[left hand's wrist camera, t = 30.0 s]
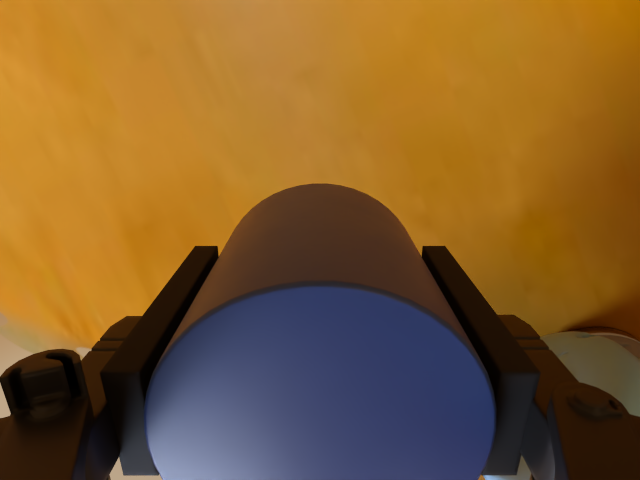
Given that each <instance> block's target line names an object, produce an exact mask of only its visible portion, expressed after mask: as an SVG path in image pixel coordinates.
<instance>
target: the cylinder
mask: <svg viewBox="0 0 640 480" xmlns="http://www.w3.org/2000/svg"><path fill="white" fill-rule="evenodd" d="M144 431H145V436H146V441H147V446H148V450H149V452H150V455H151V458H152V460H153V463H154V465H155V467H156V469H157V471H158V472H159V474H160V476H161V478H162V479H163V480H478V478H479V477H480V475H481V473H482V471H483V469H484V468H485V466H486V464H487V461H488V459H489V456H490V453H491V450H492V448H493V443H494V438H495V433H496V403H495V396H494V390H493V387H492V384H491V381H490V378H489V375H488V373H487V371H486V369H485V367H484V365H483V363H482V361H481V360H480V358H479V356H478V354H477V352H476V351H475V349H474V347H473V345H472V344H471V342H470V340H469V338H468V337H467V335H466V333H465V331H464V330H463V328H462V326H461V325H460V323H459V321H458V319H457V318H456V316H455V314H454V312H453V311H452V309H451V307H450V305H449V304H448V302H447V300H446V299H445V297H444V295H443V293H442V292H441V290H440V288H439V286H438V285H437V283H436V281H435V279H434V278H433V276H432V274H431V273H430V271H429V269H428V267H427V266H426V264H425V262H424V260H423V259H422V257H421V255H420V254H419V252H418V250H417V248H416V247H415V245H414V243H413V241H412V240H411V238H410V236H409V234H408V233H407V231H406V229H405V228H404V226H403V225H402V223H401V222H400V221H399V219H398V218H397V217H396V216H395V215H394V214H393V213H392V212H391V211H390V210H389V209H388V208H387V207H386V206H384V205H383V204H382V203H380V202H379V201H378V200H376V199H374V198H372V197H371V196H369V195H367V194H365V193H363V192H360V191H358V190H355V189H352V188H348V187H345V186H341V185H333V184H307V185H300V186H296V187H292V188H288V189H285V190H283V191H280V192H278V193H275V194H273V195H271V196H270V197H268V198H266V199H264V200H263V201H261V202H260V203H259V204H257V205H256V206H255V207H254V208H252V209H251V210H250V211H249V212H248V213H247V214H246V215H245V216H244V217H243V218H242V220H241V221H240V223H239V224H238V225H237V227H236V228H235V230H234V231H233V233H232V235H231V237H230V238H229V240H228V242H227V244H226V245H225V247H224V249H223V251H222V252H221V254H220V256H219V257H218V259H217V261H216V263H215V264H214V266H213V268H212V270H211V271H210V273H209V275H208V277H207V278H206V280H205V282H204V283H203V285H202V287H201V289H200V290H199V292H198V294H197V296H196V297H195V299H194V301H193V302H192V304H191V306H190V308H189V309H188V311H187V313H186V315H185V316H184V318H183V320H182V322H181V323H180V325H179V327H178V328H177V330H176V332H175V334H174V335H173V337H172V339H171V341H170V342H169V344H168V346H167V348H166V349H165V351H164V353H163V354H162V356H161V358H160V360H159V362H158V364H157V366H156V368H155V370H154V371H153V373H152V376H151V379H150V382H149V385H148V389H147V392H146V398H145V405H144Z"/></svg>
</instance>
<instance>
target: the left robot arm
mask: <svg viewBox="0 0 640 480" xmlns="http://www.w3.org/2000/svg"><path fill="white" fill-rule="evenodd" d="M217 259H218V246H195V247H194V248H193V250H192V251H191V252H190V254H189V255H188V256H187V258H186V259H185V260H184V262H183V263H182V264H181V266H180V267H179V268H178V270H177V271H176V272H175V274H174V275H173V276H172V278H171V279H170V280H169V282H168V283H167V284H166V285H165V287H164V288H163V289H162V291H161V292H160V293H159V295H158V296H157V297H156V299H155V300H154V301H153V303H152V304H151V305H150V307H149V308H148V309H147V311H146V312H145V313H144V315H143V316H126V317H125V318H123V319H122V320H120V321H118V322H117V323H115V324H114V325H112V326H111V327H110V328H109V329H108V330H107V331H106V332H105V334H104V335H103V336H102V337H101V338H100V341H98V342H97V343H96V344H95V345H94V346H93V348H92V351H89V352H88V353H87V355H86V356H85V357H84V358H83V359H82V360H80V356H79V355H78V354H77V353H76V352H74V351H73V350H66V349H55V350H47V351H43V352H40V353H36V354H33V355H31V356H28V357H26V358H24V359H22V360H19V361H18V362H16V363H15V364H13V365H12V366H10V367H9V368H8V369H6V370H5V372H4V373H3V374H2V375H1V376H0V383H1V386H2V389H3V392H4V395H5V398H6V400H7V403H8V406H9V409H10V412H11V415H10V416H8V417H5V418H0V480H111V479H110V475H109V474H110V472H111V470H112V469H113V467H114V465H115V463H116V461H117V459H118V457H119V458H120V462H121V466H122V470H123V475H159V472H158V471H157V469H156V467H155V465H154V463H153V460H152V458H151V455H150V452H149V450H148V446H147V441H146V436H145V431H144V405H145V398H146V392H147V389H148V385H149V382H150V379H151V376H152V373H153V371H154V370H155V368H156V366H157V364H158V362H159V360H160V358H161V356H162V354H163V353H164V351H165V349H166V348H167V346H168V344H169V342H170V341H171V339H172V337H173V335H174V334H175V332H176V330H177V328H178V327H179V325H180V323H181V322H182V320H183V318H184V316H185V315H186V313H187V311H188V309H189V308H190V306H191V304H192V302H193V301H194V299H195V297H196V296H197V294H198V292H199V290H200V289H201V287H202V285H203V283H204V282H205V280H206V278H207V277H208V275H209V273H210V271H211V270H212V268H213V266H214V264H215V263H216V261H217ZM422 259H423V260H424V262H425V264H426V266H427V267H428V269H429V271H430V273H431V274H432V276H433V278H434V279H435V281H436V283H437V285H438V286H439V288H440V290H441V292H442V293H443V295H444V297H445V299H446V300H447V302H448V304H449V305H450V307H451V309H452V311H453V312H454V314H455V316H456V318H457V319H458V321H459V323H460V325H461V326H462V328H463V330H464V331H465V333H466V335H467V337H468V338H469V340H470V342H471V344H472V345H473V347H474V349H475V351H476V352H477V354H478V356H479V358H480V360H481V361H482V363H483V365H484V367H485V369H486V371H487V373H488V375H489V378H490V381H491V384H492V387H493V390H494V396H495V403H496V433H495V438H494V443H493V448H492V450H491V453H490V456H489V459H488V461H487V464H486V466H485V468H484V469H483V471H482V473H481V475H517V472H518V467H519V463H520V459H521V455H522V457H523V458H524V460H525V462H526V464H527V466H528V468H529V470H530V471H531V475H530V479H529V480H640V417H639V416H635V415H631V414H629V412H628V411H627V409H626V408H625V407H624V405H623V404H622V403H621V402H620V401H618V400H617V399H616V398H615V397H613V396H612V395H611V394H609V393H607V392H605V391H603V390H601V389H599V388H597V387H595V386H591V385H588V384H585V383H580V382H579V381H578V380H577V379H576V378H575V377H574V376H573V375H572V373H571V372H570V371H569V370H568V369H567V368H566V366H565V365H564V364H563V363H562V362H561V361H560V359H559V358H558V357H557V356H556V355H555V354H554V352H553V351H552V350H549V347H548V345H547V344H546V343H545V342H544V341H543V340H541V339H540V336H539V335H538V334H537V333H536V332H535V330H534V329H533V328H532V327H531V326H530V325H529V324H527V323H526V322H524V321H523V320H521V319H519V318H518V317H516V316H515V315H497V314H496V313H495V312H494V310H493V309H492V308H491V306H490V305H489V304H488V302H487V301H486V300H485V298H484V297H483V296H482V294H481V293H480V292H479V290H478V289H477V288H476V286H475V285H474V284H473V282H472V281H471V280H470V278H469V277H468V276H467V275H466V273H465V272H464V271H463V269H462V268H461V267H460V265H459V264H458V263H457V261H456V260H455V259H454V257H453V256H452V255H451V253H450V252H449V251H448V249H447V248H446V247H445V246H423V249H422Z"/></svg>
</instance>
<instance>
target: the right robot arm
mask: <svg viewBox="0 0 640 480" xmlns="http://www.w3.org/2000/svg"><path fill="white" fill-rule="evenodd" d="M540 339H541V340H543V341H544V342H545V343H546V344H547V345H548V347H549V350H552V351H553V352H554V354H555V355H556V356H557V357H558V358H559V359H560V361H561V362H562V363H563V364H564V365H565V366H566V368H567V369H568V370H569V371H570V372H571V373H572V375H573V376H574V377H575V378H576V379H577V380H578V381H579V382H580V383H585V384H588V385H591V386H595V387H597V388H599V389H601V390H603V391H605V392H607V393H609V394H611V395H612V396H613V397H615V398H616V399H617V400H618V401H620V402H621V403H622V404H623V405H624V407H625V408H626V409H627V411H628V412H629V414H631V415H635V416H639V417H640V341H639V340H638V339H636V338H635V337H633V336H632V335H630V334H628V333H626V332H623V331H620V330H616V329H612V328H602V327H594V328H584V329H579V330H575V331H569V332H559V333H553V334H548V335H545V336H542V337H540ZM530 475H531V471H530V470H529V468H528V466H527V464H526V462H525V460H524V458H523V457H522V455H521V459H520V463H519V467H518V472H517V475H483V476H484V478H485V479H486V480H529V479H530Z"/></svg>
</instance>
